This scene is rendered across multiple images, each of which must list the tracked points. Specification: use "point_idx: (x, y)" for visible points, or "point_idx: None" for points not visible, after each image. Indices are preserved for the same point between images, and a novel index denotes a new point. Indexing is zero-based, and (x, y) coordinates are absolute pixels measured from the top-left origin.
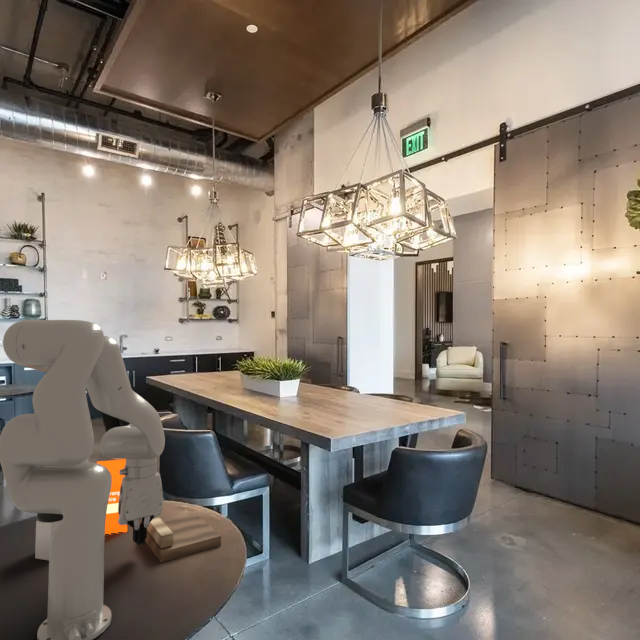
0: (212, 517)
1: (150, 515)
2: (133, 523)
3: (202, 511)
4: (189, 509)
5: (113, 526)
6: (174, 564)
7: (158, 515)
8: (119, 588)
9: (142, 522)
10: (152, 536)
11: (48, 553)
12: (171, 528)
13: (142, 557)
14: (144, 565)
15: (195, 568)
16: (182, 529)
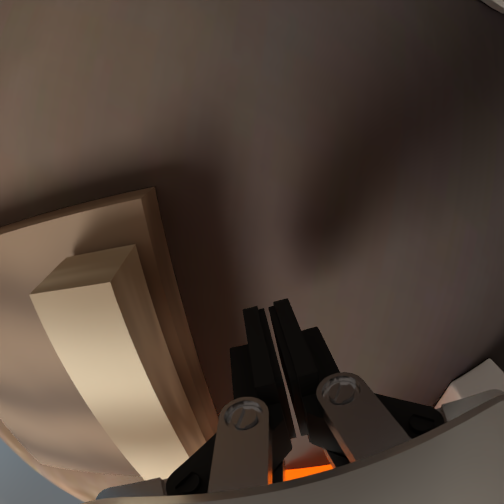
0: (14, 441)
1: (208, 496)
2: (388, 421)
3: (52, 477)
4: (91, 497)
5: None
6: (90, 134)
7: (124, 485)
8: (379, 29)
9: (277, 451)
10: (187, 400)
11: (501, 370)
12: (104, 432)
13: (244, 286)
14: (244, 191)
15: (18, 64)
16: (54, 404)
